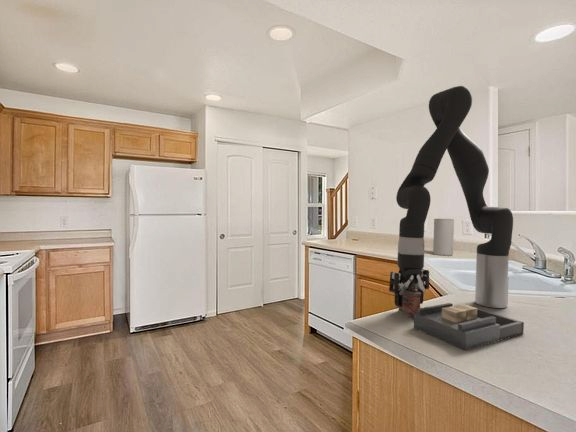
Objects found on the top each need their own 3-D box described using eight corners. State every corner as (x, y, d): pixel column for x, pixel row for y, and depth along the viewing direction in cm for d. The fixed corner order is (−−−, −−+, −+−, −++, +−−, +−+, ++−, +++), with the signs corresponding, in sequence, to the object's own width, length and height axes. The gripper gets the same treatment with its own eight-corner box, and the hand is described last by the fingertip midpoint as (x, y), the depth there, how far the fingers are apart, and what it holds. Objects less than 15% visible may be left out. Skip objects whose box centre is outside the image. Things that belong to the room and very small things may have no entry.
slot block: (445, 320, 93) (446, 302, 93) (499, 340, 80) (500, 318, 80) (413, 327, 88) (414, 307, 87) (465, 350, 74) (466, 326, 74)
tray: (469, 315, 98) (469, 306, 98) (523, 333, 85) (523, 322, 85) (445, 320, 93) (446, 310, 93) (499, 340, 80) (499, 328, 80)
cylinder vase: (434, 252, 235) (435, 218, 234) (453, 254, 228) (454, 219, 228) (432, 254, 224) (433, 218, 223) (452, 256, 218) (453, 219, 217)
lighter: (395, 310, 102) (396, 279, 101) (404, 309, 103) (405, 278, 103) (414, 319, 94) (415, 285, 94) (423, 318, 95) (424, 284, 95)
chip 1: (451, 315, 86) (452, 306, 86) (465, 320, 83) (466, 310, 82) (441, 317, 84) (442, 308, 84) (455, 322, 81) (455, 312, 81)
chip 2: (462, 313, 88) (463, 304, 88) (477, 317, 85) (477, 308, 85) (453, 315, 86) (453, 305, 86) (467, 320, 83) (467, 310, 83)
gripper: (417, 249, 104) (415, 299, 105) (384, 251, 98) (382, 304, 98) (437, 252, 98) (435, 305, 98) (403, 254, 91) (401, 311, 92)
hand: (409, 304), depth 98 cm, fingers open, 8 cm apart
